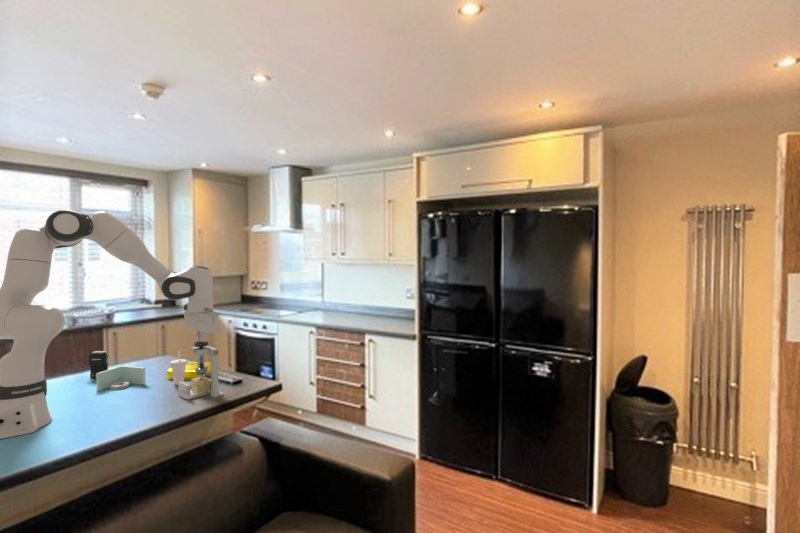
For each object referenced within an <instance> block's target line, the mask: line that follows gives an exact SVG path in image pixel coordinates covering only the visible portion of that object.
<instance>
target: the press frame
mask: <svg viewBox="0 0 800 533" xmlns="http://www.w3.org/2000/svg"><path fill="white" fill-rule="evenodd" d="M190 354H194V355H195V354H196V356H197V358H196V359H197V361H196V362H197V368H198V367H199V356H201V355H204V367H205V359H206V358H205V355H210V362H211V373H210V379H211V394H209V396H210V397H211V396H212V397H211V398H213V397H214V399H215V398H218V396H219V397H223V396H224V395H225V393H224V392H222V391H219V387H220V386H219V380H220V379H219V348H216V347H213V346H210V345H208V346H204V349H199V347H195V346H194V347H190ZM202 376H205V374H203V375H198V377H202ZM205 377H206V376H205Z"/></svg>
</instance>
